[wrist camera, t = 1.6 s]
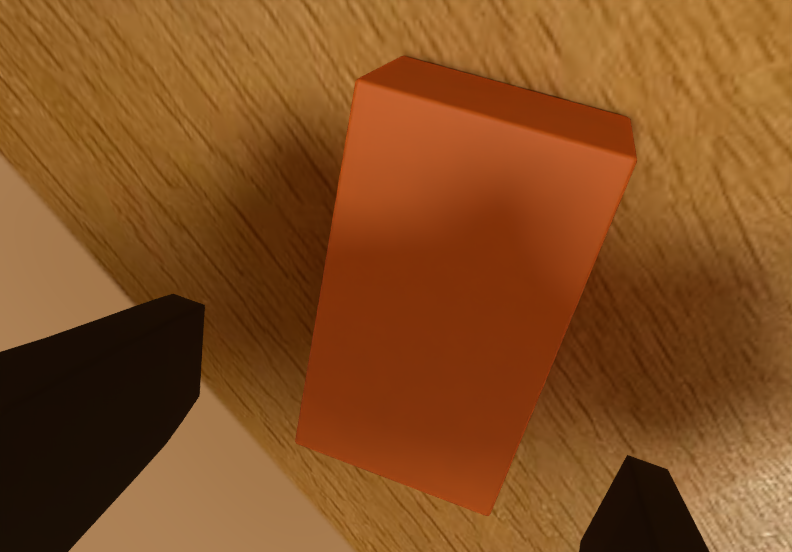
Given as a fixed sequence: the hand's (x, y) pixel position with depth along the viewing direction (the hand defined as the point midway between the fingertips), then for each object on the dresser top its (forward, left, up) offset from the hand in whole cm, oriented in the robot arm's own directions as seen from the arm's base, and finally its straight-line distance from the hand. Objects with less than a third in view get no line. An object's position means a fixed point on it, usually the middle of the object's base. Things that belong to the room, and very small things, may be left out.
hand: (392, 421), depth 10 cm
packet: (0, 0, -6) cm, 6 cm away
